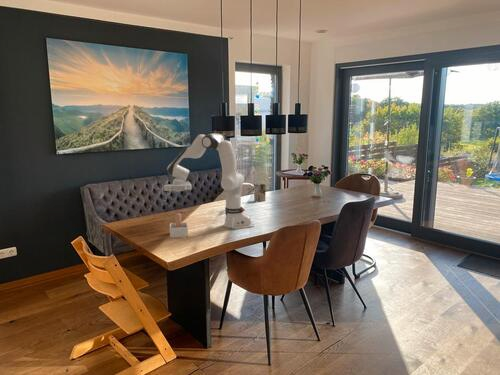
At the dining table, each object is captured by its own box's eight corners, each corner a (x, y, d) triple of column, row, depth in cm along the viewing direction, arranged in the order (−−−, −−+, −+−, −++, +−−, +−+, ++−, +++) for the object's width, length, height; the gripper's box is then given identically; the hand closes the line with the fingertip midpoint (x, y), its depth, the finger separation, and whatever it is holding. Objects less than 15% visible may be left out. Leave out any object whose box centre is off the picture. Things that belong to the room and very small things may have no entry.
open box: (187, 231, 273) (187, 222, 272) (187, 236, 261) (187, 227, 260) (170, 232, 271) (170, 223, 270) (170, 237, 259) (169, 228, 258)
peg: (181, 232, 268) (181, 213, 266) (181, 234, 264) (181, 214, 262) (176, 232, 268) (175, 213, 265) (176, 234, 264) (175, 214, 261)
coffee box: (261, 199, 370) (261, 183, 367) (265, 200, 365) (265, 184, 362) (253, 201, 365) (253, 184, 362) (258, 202, 360) (258, 185, 357)
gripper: (163, 182, 289) (162, 185, 276) (191, 181, 293) (191, 184, 279) (164, 190, 290) (163, 194, 277) (191, 189, 294) (191, 192, 280)
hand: (177, 189), depth 278 cm, fingers open, 8 cm apart
